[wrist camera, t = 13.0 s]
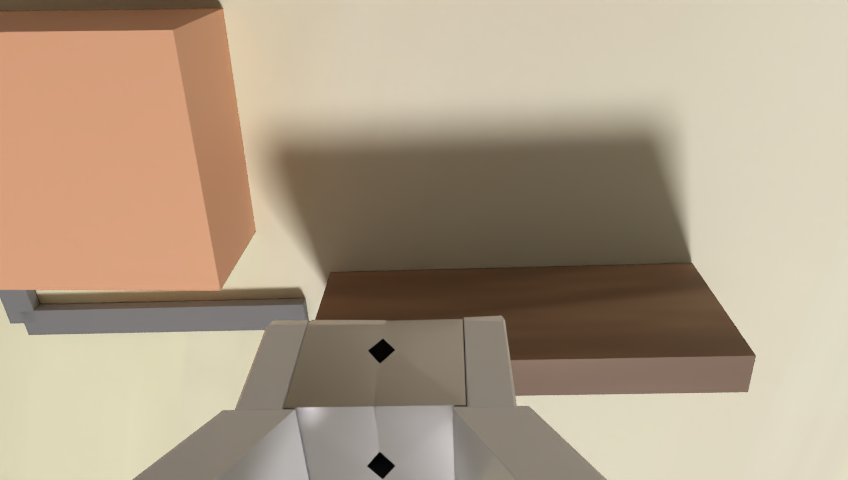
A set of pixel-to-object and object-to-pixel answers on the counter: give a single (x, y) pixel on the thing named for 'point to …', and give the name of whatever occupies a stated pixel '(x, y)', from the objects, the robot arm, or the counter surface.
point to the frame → (147, 315)
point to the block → (119, 151)
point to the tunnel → (572, 323)
